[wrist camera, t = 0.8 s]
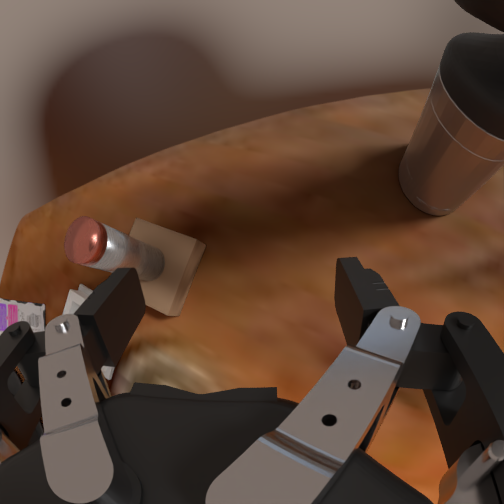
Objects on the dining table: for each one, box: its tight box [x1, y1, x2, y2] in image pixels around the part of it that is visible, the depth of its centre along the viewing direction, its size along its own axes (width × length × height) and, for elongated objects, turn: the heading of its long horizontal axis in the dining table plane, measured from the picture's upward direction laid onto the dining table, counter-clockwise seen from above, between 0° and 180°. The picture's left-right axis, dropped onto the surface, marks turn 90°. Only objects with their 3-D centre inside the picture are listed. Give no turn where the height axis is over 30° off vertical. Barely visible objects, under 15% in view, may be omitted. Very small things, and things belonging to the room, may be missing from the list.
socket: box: [63, 284, 115, 380], centre depth 36 cm, size 10×10×3 cm
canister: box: [64, 216, 165, 281], centre depth 28 cm, size 4×4×12 cm
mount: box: [129, 218, 206, 316], centre depth 35 cm, size 9×9×3 cm
